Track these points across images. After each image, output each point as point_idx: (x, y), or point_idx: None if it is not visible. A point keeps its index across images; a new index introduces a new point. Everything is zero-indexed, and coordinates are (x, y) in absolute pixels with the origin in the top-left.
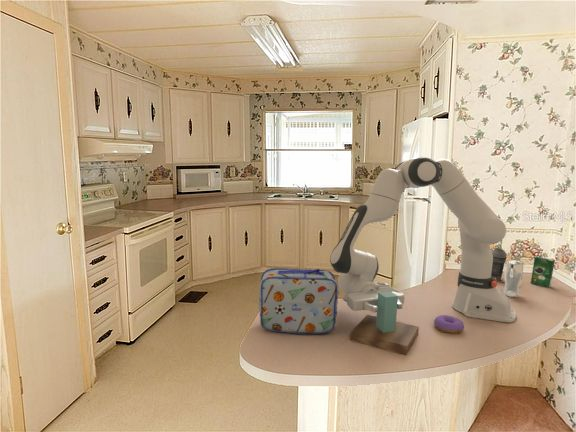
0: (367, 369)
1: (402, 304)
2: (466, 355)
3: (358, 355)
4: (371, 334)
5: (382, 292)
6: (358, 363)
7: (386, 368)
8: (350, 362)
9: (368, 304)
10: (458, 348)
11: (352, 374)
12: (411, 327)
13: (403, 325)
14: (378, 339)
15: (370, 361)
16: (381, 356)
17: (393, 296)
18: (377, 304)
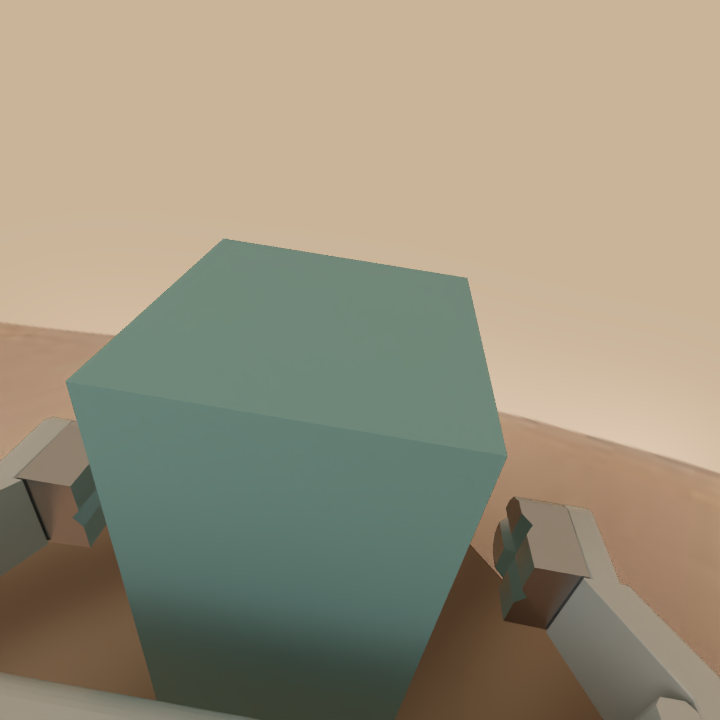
0: (609, 461)
1: (55, 419)
2: (87, 350)
3: (635, 578)
4: (508, 645)
5: (371, 408)
6: (649, 513)
7: (514, 432)
8: (697, 539)
9: (676, 645)
10: (28, 386)
11: (691, 464)
12: (23, 575)
13: (26, 656)
14: (477, 557)
15: (574, 500)
16: (489, 508)
17: (312, 254)
18: (423, 647)
